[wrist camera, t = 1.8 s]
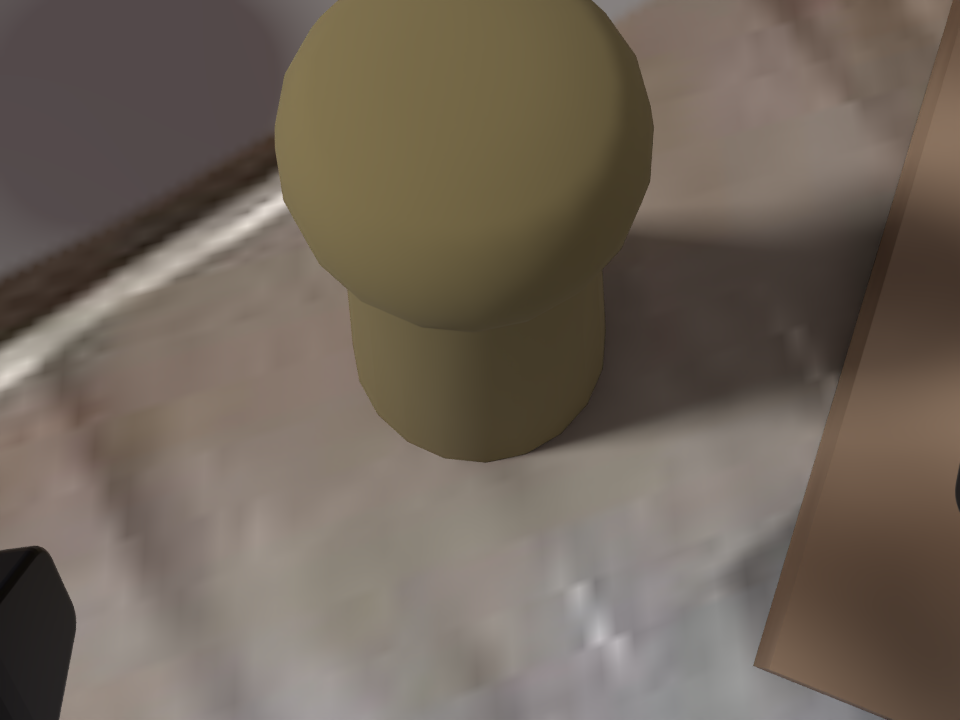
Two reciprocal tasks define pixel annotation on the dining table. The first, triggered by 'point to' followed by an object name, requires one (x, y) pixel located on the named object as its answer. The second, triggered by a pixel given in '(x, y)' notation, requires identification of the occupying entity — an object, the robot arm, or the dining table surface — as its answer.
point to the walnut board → (890, 461)
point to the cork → (468, 204)
